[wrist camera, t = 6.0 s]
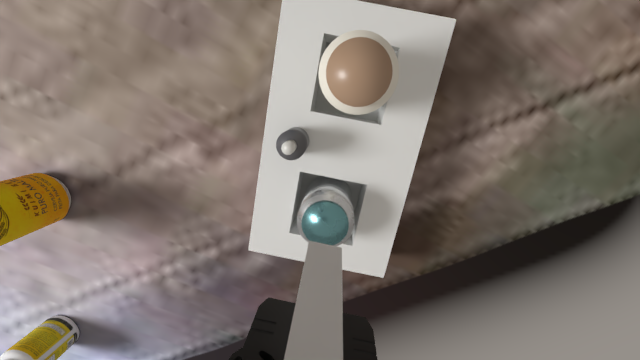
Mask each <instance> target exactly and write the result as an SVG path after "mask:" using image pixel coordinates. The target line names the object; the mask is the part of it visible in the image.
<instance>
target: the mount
mask: <svg viewBox="0 0 640 360" xmlns="http://www.w3.org/2000/svg"><path fill="white" fill-rule="evenodd" d="M455 23H456V19H453V18H448V17H442V16H437V15H432V14H426V13H421V12H416V11H411V10H405V9H400V8H395V7H389V6H384V5H379V4H374V3H368V2H363V1H358V0H282V6H281V13H280V20H279V28H278V35H277V43H276V50H275V57H274V65H273V72H272V79H271V87H270V94H269V102H268V109H267V116H266V124H265V131H264V138H263V146H262V153H261V161H260V168H259V175H258V183H257V190H256V197H255V205H254V212H253V219H252V227H251V234H250V242H249V249H248V250H250V251H255V252H259V253H264V254H269V255H274V256H279V257H284V258H289V259H294V260H299V261H303V262H305V258H306V253H307V248H308V244H309V243H308V242H307V241H306V240H305V239H304V238H303V237H302V236H301V234H300V232H299V230H298V227H297V215H298V211H299V209H300V206H301V203H302V201H303V198H304V196H305V193H306V190H307V188H308V186H309V184H310V183H311V182H312V181H313V180H314V179H315V178H317V177H319V176H325V177H330V178H335V179H340V180H344V181H345V182H346V183H347V184H348V186H349V187H350V190H351V195H352V204H353V213H354V229H353V232H352V234H351V235H350V237H349V238H348V239H347V240H346V241H345V242H344V243H343V244H341V245H339V246H337V247H341V248H342V269H343V270H348V271H352V272H357V273H362V274H367V275H372V276H377V277H382V278H384V274H385V271H386V267H387V264H388V260H389V256H390V253H391V249H392V246H393V242H394V239H395V235H396V232H397V228H398V225H399V221H400V218H401V214H402V210H403V207H404V203H405V200H406V196H407V193H408V189H409V186H410V182H411V179H412V175H413V171H414V168H415V164H416V161H417V157H418V154H419V150H420V147H421V143H422V140H423V136H424V132H425V129H426V125H427V122H428V118H429V115H430V111H431V108H432V104H433V101H434V97H435V93H436V90H437V86H438V83H439V79H440V76H441V72H442V69H443V65H444V62H445V58H446V55H447V51H448V47H449V44H450V40H451V37H452V33H453V30H454V26H455ZM354 30H367V31H371V32H374V33H376V34H378V35H380V36H382V37H383V38H384V39H385V40H387V41H388V43H389V44H390V45H391V46H392V48H393V49H394V51H395V53H396V56H397V59H398V63H399V78H398V83H397V86H396V88H395V91H394V93H393V94H392V96H391V97H390V98H389V100H388V101H387V102H386V103H385V104H384V105H383V106H381V107H380V108H378V109H377V110H375V111H373V112H370V113H367V114H361V115H353V114H348V113H344V112H342V111H340V110H338V109H336V108H335V107H334V106H332V105H331V104H330V103H329V102H328V100H327V99H326V98H325V96H324V94H323V92H322V90H321V87H320V83H319V65H320V61H321V58H322V55H323V53H324V52H325V50H326V48H327V47H328V46H329V45H330V43H331V42H332V41H333V40H335V39H336V38H337V37H339V36H340V35H342V34H344V33H346V32H350V31H354ZM293 127H299V128H302V129H304V130H305V131H306V132H307V134H308V136H309V146H308V148H307V149H306V151H305V152H304V154H303V155H302V156H301V157H300V158H298V159H296V160H286V159H284V158H283V157H281V156H280V155H279V153H278V151H277V149H276V141H277V139H278V137H279V136H280V135H281V134H282V133H283V132H285V131H287V130H288V129H290V128H293Z"/></svg>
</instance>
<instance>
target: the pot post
mask: <svg viewBox="0 0 640 360" xmlns="http://www.w3.org/2000/svg"><path fill="white" fill-rule="evenodd" d="M308 146H309V136H308V134H307V132H306V131H305V130H304V129H302V128H299V127H293V128H290V129H288V130H287V131H285V132H283V133H282V134H281V135H280V136H279V137H278V139H277V141H276V149H277V151H278V153H279V155H280V156H281V157H283V158H284V159H286V160H296V159H298V158H300V157H301V156H302V155H303V154H304V152H305V151H306V149H307V148H308Z"/></svg>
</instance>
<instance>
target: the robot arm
mask: <svg viewBox="0 0 640 360" xmlns="http://www.w3.org/2000/svg"><path fill="white" fill-rule="evenodd" d="M229 360H377V356H376V347H375V340H374V334H373V329H372V327H371V326H370V324H369V322H368V321H367V319H366V318H365V317H360V316H356V315H351V314H347V313H343V308H342V248H341V247H337V246H332V245H327V244H323V243H318V242H313V241H309V244H308V248H307V253H306V258H305V262H304V267H303V272H302V277H301V281H300V286H299V291H298V295H297V300H296V303H291V302H286V301H282V300H277V299H273V298H268V299H266V300H265V301H264V302H263V303H262V304H261V305H260V306H259V307H258V310H257V313H256V315H255V318H254V320H253V323H252V326H251V329H250V331H249V333H248V336H247V339H246V341H245V344H244V346H243V348H241V349H239V350H238V351H237V352H235V353H233V354H232V356H231V357H230V358H229Z"/></svg>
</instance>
